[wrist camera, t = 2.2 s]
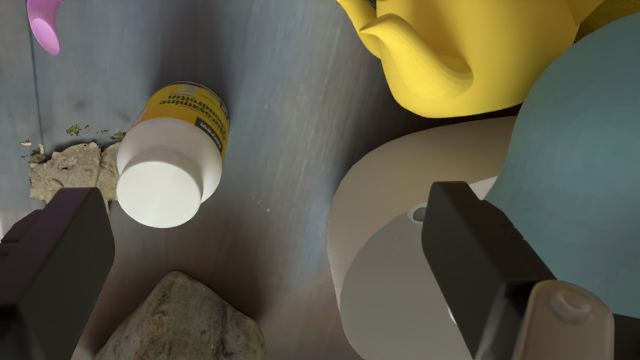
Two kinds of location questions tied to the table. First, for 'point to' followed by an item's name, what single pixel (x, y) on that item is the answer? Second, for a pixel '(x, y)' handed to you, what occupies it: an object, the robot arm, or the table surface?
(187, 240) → the table surface
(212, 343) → the stone
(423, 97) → the teapot
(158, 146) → the pill bottle
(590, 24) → the lemon
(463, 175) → the bowl
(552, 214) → the toy
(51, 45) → the teapot
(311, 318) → the table surface
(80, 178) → the stone fragment
